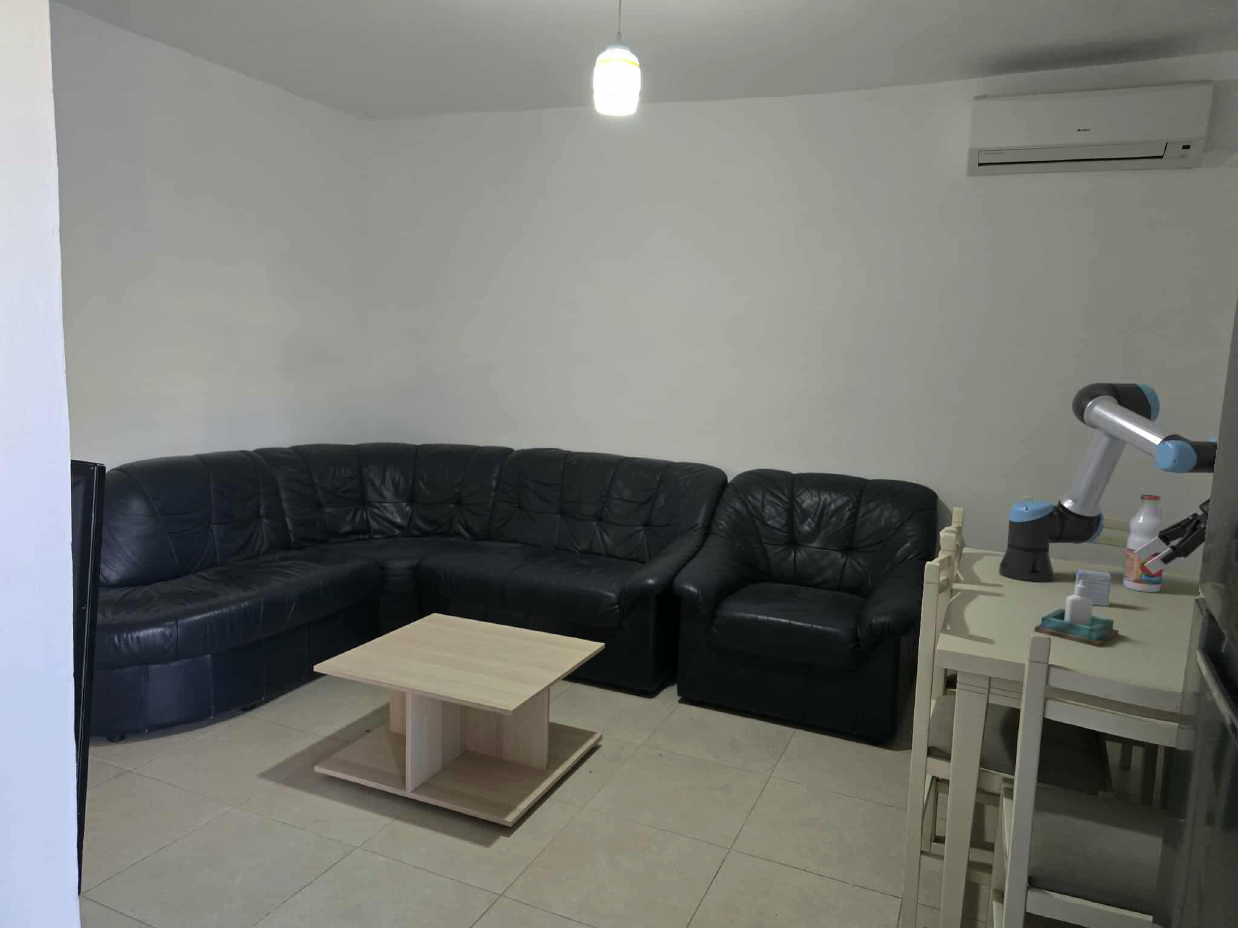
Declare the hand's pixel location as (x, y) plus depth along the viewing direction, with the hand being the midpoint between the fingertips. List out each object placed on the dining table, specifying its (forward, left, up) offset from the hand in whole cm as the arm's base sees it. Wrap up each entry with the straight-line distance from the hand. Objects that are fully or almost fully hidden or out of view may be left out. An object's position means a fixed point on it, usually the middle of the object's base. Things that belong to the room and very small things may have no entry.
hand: (1142, 563), depth 194 cm
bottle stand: (-9, -13, -17) cm, 23 cm away
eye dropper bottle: (-9, -13, -16) cm, 23 cm away
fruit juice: (-12, +49, -17) cm, 53 cm away
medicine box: (-16, +19, -17) cm, 30 cm away
